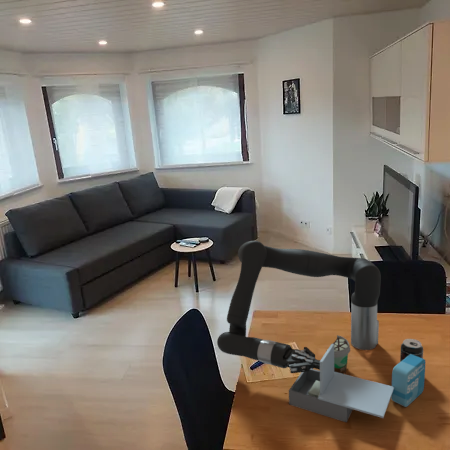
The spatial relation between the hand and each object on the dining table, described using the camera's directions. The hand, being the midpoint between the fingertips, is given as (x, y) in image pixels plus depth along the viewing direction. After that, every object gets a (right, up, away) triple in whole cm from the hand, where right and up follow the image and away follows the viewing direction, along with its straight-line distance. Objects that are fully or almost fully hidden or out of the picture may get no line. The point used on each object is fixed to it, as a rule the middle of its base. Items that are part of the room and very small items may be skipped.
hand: (326, 366), depth 135 cm
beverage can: (+31, -7, +13) cm, 34 cm away
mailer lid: (+8, -7, -3) cm, 11 cm away
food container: (+9, -7, +18) cm, 21 cm away
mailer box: (0, -11, +3) cm, 12 cm away
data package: (+26, -10, +2) cm, 28 cm away
